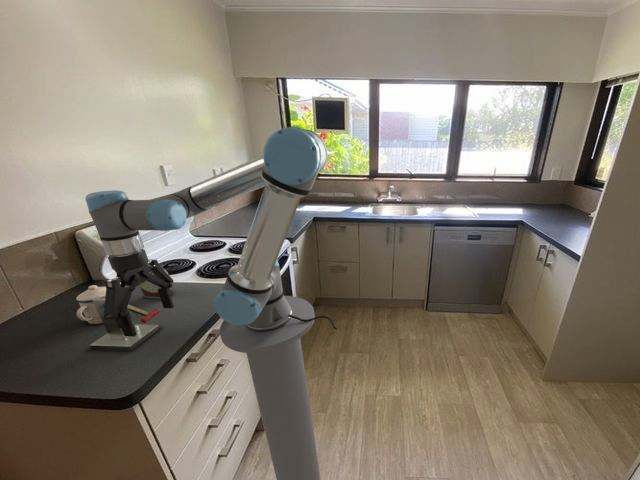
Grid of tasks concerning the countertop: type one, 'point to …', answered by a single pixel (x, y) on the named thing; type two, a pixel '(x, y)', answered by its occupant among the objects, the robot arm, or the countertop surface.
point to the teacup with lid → (90, 304)
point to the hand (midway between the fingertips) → (151, 320)
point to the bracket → (120, 332)
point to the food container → (150, 288)
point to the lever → (142, 313)
